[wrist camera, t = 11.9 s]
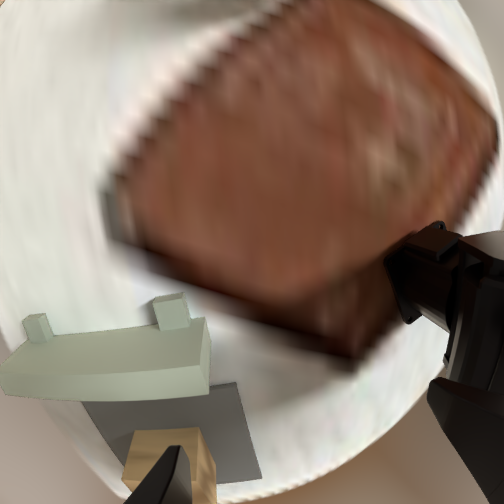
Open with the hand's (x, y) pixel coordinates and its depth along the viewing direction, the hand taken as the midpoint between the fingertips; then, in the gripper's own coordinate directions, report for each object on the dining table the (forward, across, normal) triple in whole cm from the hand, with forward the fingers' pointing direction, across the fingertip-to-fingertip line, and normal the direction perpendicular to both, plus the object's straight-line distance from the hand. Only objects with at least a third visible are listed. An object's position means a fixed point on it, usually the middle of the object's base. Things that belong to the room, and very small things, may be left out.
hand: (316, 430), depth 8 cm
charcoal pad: (+12, +10, +13) cm, 21 cm away
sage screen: (+12, +12, +1) cm, 17 cm away
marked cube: (+12, +10, +13) cm, 20 cm away
